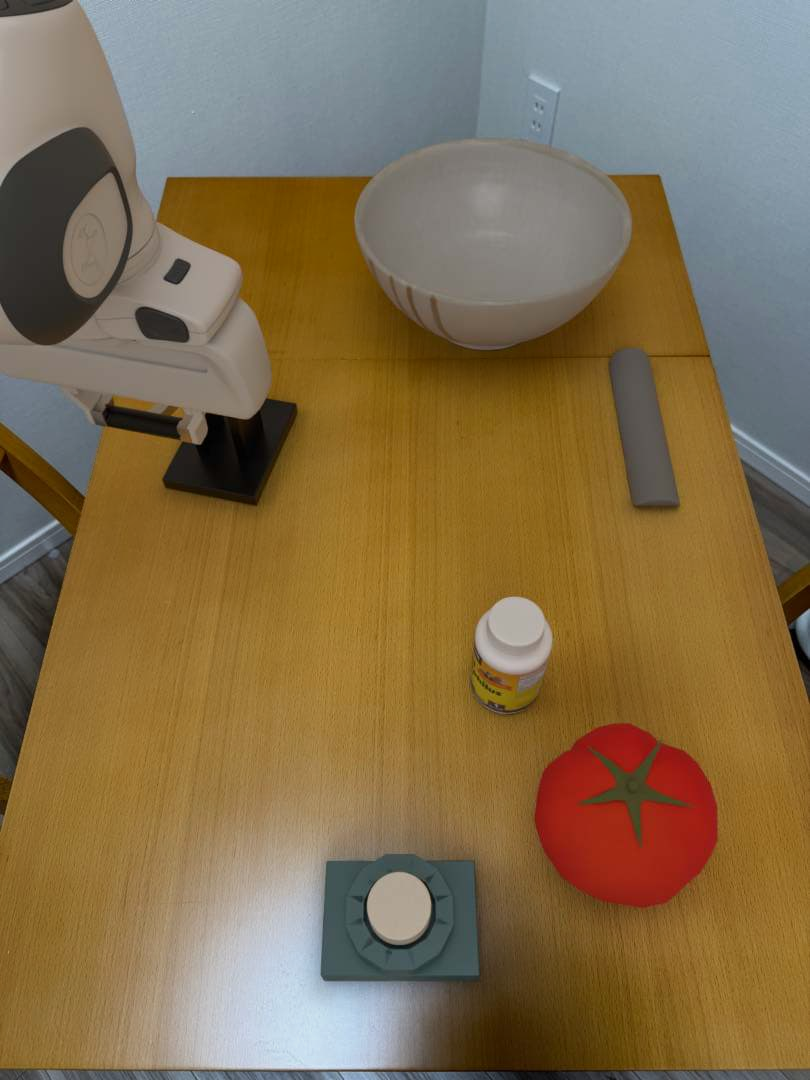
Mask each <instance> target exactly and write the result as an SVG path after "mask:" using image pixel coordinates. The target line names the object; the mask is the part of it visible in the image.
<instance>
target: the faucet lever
mask: <svg viewBox="0 0 810 1080" xmlns="http://www.w3.org/2000/svg"><path fill="white" fill-rule="evenodd" d="M178 409H180V407H174V406H169V405H163V404H158V403H154V405H152V406H151V407H150V408H149V409H148V410H142V409H136V408H131V407H126V406H120V405H115V404H114V406H112V407H111V408H110V409H109V411H108V414H107V422H108V425H109V426H110V427H109V428H111V429H117V430H121V431H128V432H132V433H137V434H144V435H150V436H154V437H161V438H165V439H170V440H176V441H180V442H182V441H181V440H180V436H181V435H179V434H178V431H177V425H178V423H179V422H180V421H181V420H182V419H183V417H179V416H174V415H173V414H174V413H175V412H176V411H178Z"/></svg>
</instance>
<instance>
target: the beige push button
mask: <svg viewBox="0 0 810 1080" xmlns="http://www.w3.org/2000/svg"><path fill="white" fill-rule="evenodd" d="M367 912H368V917H369V921H370V924H371V927H372V929H373V930H374V932H375V933H376V935H377V936H378V937H379V938H381V939H382V940H383V941H385V942H387V943H390V944H393V945H406V944H409V943H412V942H414V941H416V940H417V939H418V938H420V937H421V936H422V935H423V933H424V932H425V931H426V929H427V927H428V925H429V922H430V918H431V898H430V895H429V892H428V890H427V888H426V886H425V885H424V884H423V882H422V881H421V880H420V879H418V878H417V877H416V876H414V875H412V874H409V873H406V872H393V873H390V874H387V875H385V876H383V877H382V878H380V879H379V880H378V881H377V882H376V883H375V884H374V886H373V887H372V889H371V891H370V893H369V896H368V900H367Z"/></svg>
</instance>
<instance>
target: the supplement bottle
mask: <svg viewBox="0 0 810 1080" xmlns="http://www.w3.org/2000/svg"><path fill="white" fill-rule="evenodd" d="M552 649H553V633H552V629H551V626H550V625H549V623H548V621H547V619H546V618H545V615H544V613H543V611H542V609H541V608H540V607H539V605H538V604H537V603H535V602H534V601H532V600H530V599H528V598H526V597H522V596H507V597H505V598H502V599H500V600H498V601H497V602H495V603H494V604H493V605H492V607H491V608H489V609H488V610H487V611H486V612H485V613H484V614H483V615H482V616H481V617H480V619H479V620H478V622H477V624H476V627H475V631H474V639H473V648H472V655H471V656H472V657H471V666H470V674H469V684H470V688H471V690H472V693H473V695H474V697H475V698H476V700H477V701H478V702H479V703H480V704H481V705H482V706H484V707H485V708H486V709H488V710H490V711H491V712H494V713H498V714H502V715H503V714H504V715H513V714H518V713H520V712H523V711H525V710H527V709H528V708H529V707H531V706H532V705H533V704H534V702H535V701H536V700H537V698H538V696H539V695H540V692H541V688H542V686H543V681H544V678H545V675H546V671H547V667H548V664H549V660H550V657H551V653H552Z"/></svg>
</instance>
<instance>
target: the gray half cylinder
mask: <svg viewBox="0 0 810 1080" xmlns="http://www.w3.org/2000/svg"><path fill="white" fill-rule="evenodd" d="M650 361H651V359H650V357H649V355H648V353H647V352H646V351H644V350H643V349H641V348H638V347H625V348H623V349H620V350H618V351H616V352H615V353H614V354H612V356H611V357H610V359H609V367H608V368H609V374H610V379H611V386H612V390H613V391H612V392H613V397H614V404H615V410H616V416H617V420H618V426H619V432H620V437H621V438H620V439H621V444H622V448H623V449H622V450H623V455H624V463H625V468H626V473H627V478H628V484H629V491H630V497H631V502H632V503H633V505H634V506H637V507H679V506H681V502H680V498H679V497H680V496H679V492H678V486H677V482H676V478H675V474H674V473H675V472H674V467H673V464H672V459H671V455H670V454H671V453H670V450H669V444H668V440H667V435H666V430H665V426H664V421H663V417H662V412H661V408H660V402H659V397H658V393H657V388H656V383H655V379H654V374H653V369H652V364H651V362H650Z"/></svg>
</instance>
